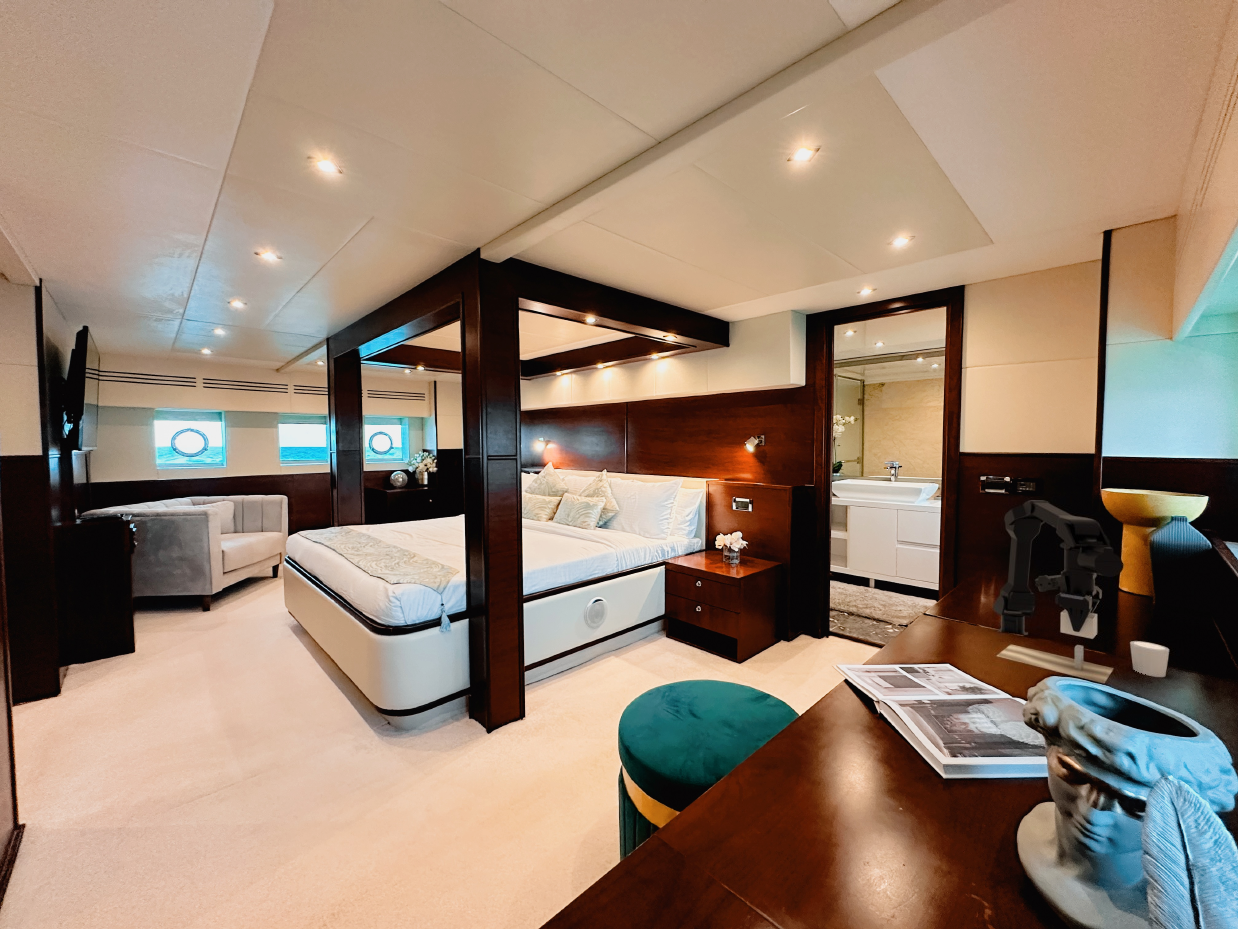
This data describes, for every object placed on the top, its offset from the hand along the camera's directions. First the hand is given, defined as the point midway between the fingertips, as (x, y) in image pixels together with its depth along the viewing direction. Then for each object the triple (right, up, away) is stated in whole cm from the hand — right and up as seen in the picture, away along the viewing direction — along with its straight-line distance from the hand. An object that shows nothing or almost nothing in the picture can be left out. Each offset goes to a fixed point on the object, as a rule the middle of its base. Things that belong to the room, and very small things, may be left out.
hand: (1078, 629), depth 125 cm
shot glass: (+19, -12, +1) cm, 23 cm away
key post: (0, -10, 0) cm, 10 cm away
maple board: (-3, -12, +4) cm, 13 cm away
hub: (0, -1, 0) cm, 1 cm away
